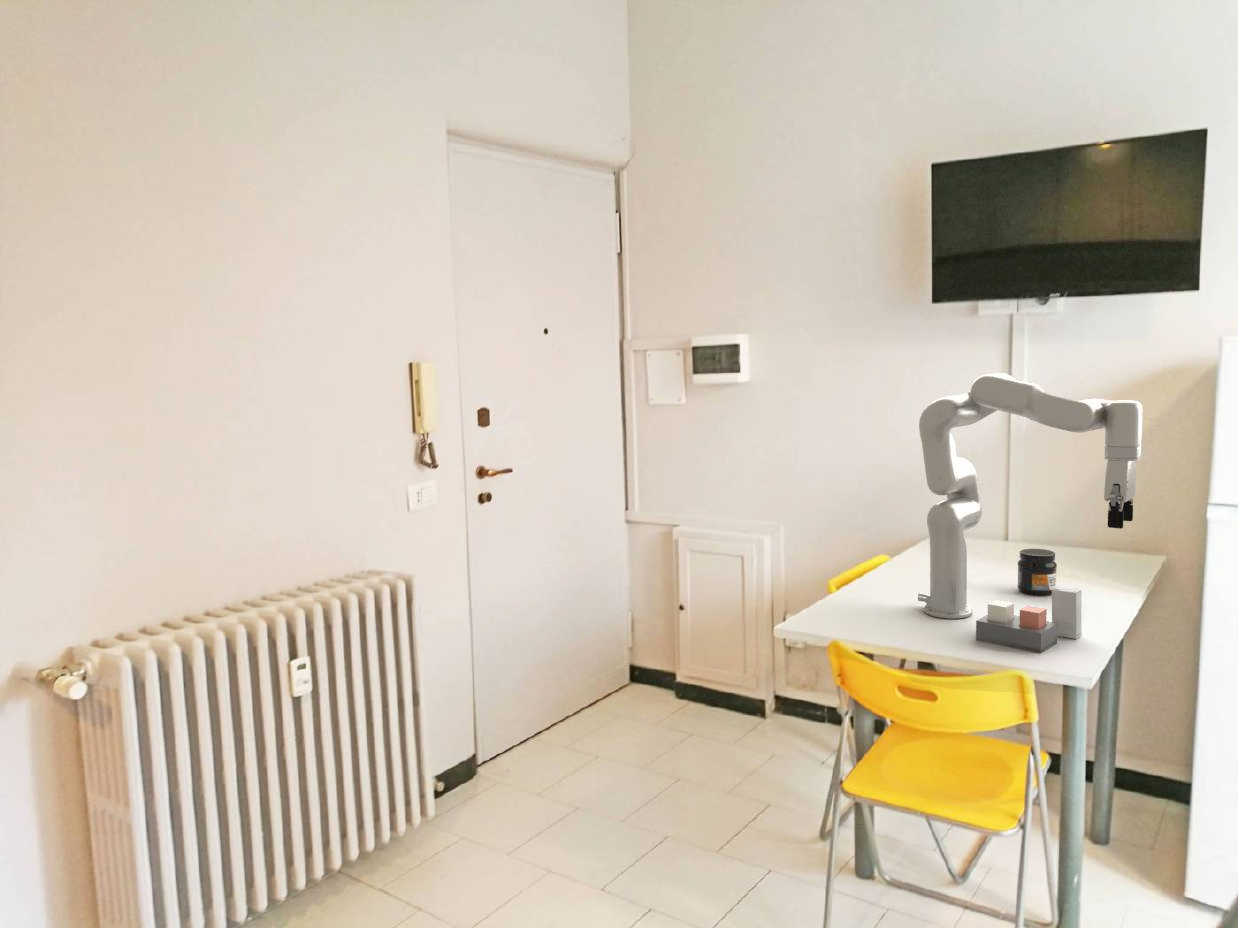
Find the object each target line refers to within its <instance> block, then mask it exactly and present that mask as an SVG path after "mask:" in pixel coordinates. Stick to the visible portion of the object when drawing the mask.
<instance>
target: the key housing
mask: <svg viewBox="0 0 1238 928" xmlns="http://www.w3.org/2000/svg"><path fill="white" fill-rule="evenodd" d="M1019 625H1020V615H1016V614H1015V615H1014V620H1012V621H1010V622H1008V623H1002V622H996V621H991V620H988V614H987V615H985V616H983V617H980V618H978V619H977V620H976V621H975V640H976V641H979V642H984V643H989V642H990V644H993V643H994V645H999V646H1004V647H1008V648H1013V649H1017V650H1023V651H1027V652H1031V653H1032V652H1033V653H1037V654H1042V653H1044V652H1046V651H1047V650H1048V649H1050V648H1052V647H1053V646H1055V645H1056V644H1058V636H1057V633H1058V623H1053V622H1052V621H1047V620H1046V626H1045V627H1043V628H1041V629H1040V630H1038V629H1033V628H1027V627H1022V626H1019Z"/></svg>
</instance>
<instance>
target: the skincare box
mask: <svg viewBox="0 0 1238 928" xmlns="http://www.w3.org/2000/svg"><path fill="white" fill-rule="evenodd" d="M1051 622H1053V623H1058V633H1057V637H1060V638H1067V639H1074V640H1078V639H1079V638H1080V637H1081V636H1082V635H1083V633H1082V628H1083V627H1082V589H1078V588H1073V587H1065V586H1059V585H1056V587H1055V588H1054V589H1053V590H1052V594H1051Z"/></svg>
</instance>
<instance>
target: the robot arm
mask: <svg viewBox="0 0 1238 928" xmlns="http://www.w3.org/2000/svg"><path fill="white" fill-rule="evenodd" d="M997 411H998V412H1003V413H1007V414H1008V413H1009V414H1011V415H1016V416H1019V417H1024V418H1027V419H1029V420H1031V421H1033V422H1036V423H1038V424H1041V425H1044V426H1047V427H1050V428H1054V429H1059V430H1062V431H1066V432H1072V433H1079V434H1080V433H1081V434H1082V433H1086V432H1087V433H1088V432H1091V431H1096V430H1100V429H1101V430H1102V429H1104V431H1105V433H1104V460H1107V463H1106V469H1105V470H1106V471H1105V480H1104V492H1103V493H1104V494H1103V499H1104V501H1106V502H1108V507H1107V508H1108V510H1107V528H1111V529H1123V528H1124V522H1132V521H1133V519H1134V517H1133V516H1134V499H1133V498H1134V497H1135V493H1136V487H1137V486H1136V483H1137V481H1136V480H1137V468H1136V467H1137V463H1136V462H1137V461H1140V460H1142V458H1141V457H1142V455H1141V454H1142V432H1143V431H1142V428H1143V406H1142V404H1141V402H1139V401H1137V400H1126V399H1125V400H1124V399H1123V400H1107V399H1102V398H1091V399H1090V398H1089V399H1084V400H1083V399H1082V400H1073V399H1069V398H1066V397H1065V398H1064V397H1061V396H1056V395H1053V394H1049V393H1047V392H1045V391H1044V390H1043V389H1042V387H1041V386H1040V385H1038V384H1035V383H1031V382H1030V383H1029V382H1025V381H1022V380H1021V381H1020V380H1016V379H1015V378H1014V377H1012V375H1010V374H1007V373H1002V372H998V373H989V374H984V375H980V376H979V377H977V378H976V379H975V380H974V381H973V382H972V384H971V385H970V390H969V391H968V392H965V393H964V394H959V395H958V394H957V395H950V396H944V397H941V398H939V399H936V400H934V401H932V402H931V403H929V404H928V405H927V406H926V407H925V409H924V410H923V411H922V413H921V415H920V418H919V424H918V428H919V436H920V440H921V441H920V442H921V445H922V452H923V453H922V454H923V461H924V463H923V464H924V470H925V477H926V484H927V487H928V489H929V490H930V492H931V493H933V494H934V495H936V496H946V499H944V500H941V501H938V502H936V503H935V504H934V505H932V507H931V508H930V509H929V511H928V513H927V517H926V526H927V530H928V536H929V560H930V561H929V565H930V566H929V591H930V592H929V593H925V592H919V593H918V594H917V601H918V602H925V604H926V605H924V607H923V611H924V613H925V614H927V615H928V614H929V616H931V617H935V618H941V619H951V620H953V619H954V620H955V619H957V620H958V619H965V618H968V617H970V616H972V615H973V608H971V606H968V605H967V597H968V596H967V592H968V591H967V583H968V582H967V581H968V578H967V576H968V566H967V565H968V564H967V563H968V558H967V557H968V553H967V552H968V550H967V543H966V538H965V536H964V532H965V531H968V530H971V529H973V528H974V527H976V526H977V525H978V524H979V523H980V521H981V518H982V500H981V494H980V487H979V479H978V474H977V471H976V468H975V467H974V465H973V464H972V463H971V462H970V461H969V460H967V459H965V458H963V457H958V454H957V448H956V442H955V440H954V437H953V435H952V434H951V430H952V429H954V428H960V427H965V426H966V427H967V426H970V425H973V424H976V423H978V422H979V421H981V420H983V419H985V418H986V417H988V416H990V415H992V414H994V413H996V412H997Z"/></svg>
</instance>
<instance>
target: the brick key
mask: <svg viewBox="0 0 1238 928" xmlns="http://www.w3.org/2000/svg"><path fill="white" fill-rule="evenodd" d="M1019 616H1020V625H1019V626H1022V627H1027V628H1033V629H1038V630H1040V629H1041V628H1043V627H1045V626H1046V621H1047V608H1043V607H1037V606H1032V605H1026V606H1024V607H1022V608H1020V609H1019Z"/></svg>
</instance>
